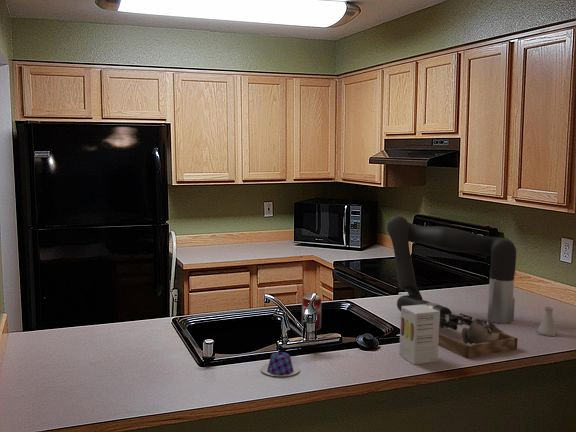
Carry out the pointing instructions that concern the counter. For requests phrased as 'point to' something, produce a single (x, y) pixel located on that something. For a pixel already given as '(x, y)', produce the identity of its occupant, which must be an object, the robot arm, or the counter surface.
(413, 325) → the supplement box
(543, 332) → the flask
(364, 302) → the counter surface
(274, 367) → the pudding
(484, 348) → the frame
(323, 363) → the counter surface
